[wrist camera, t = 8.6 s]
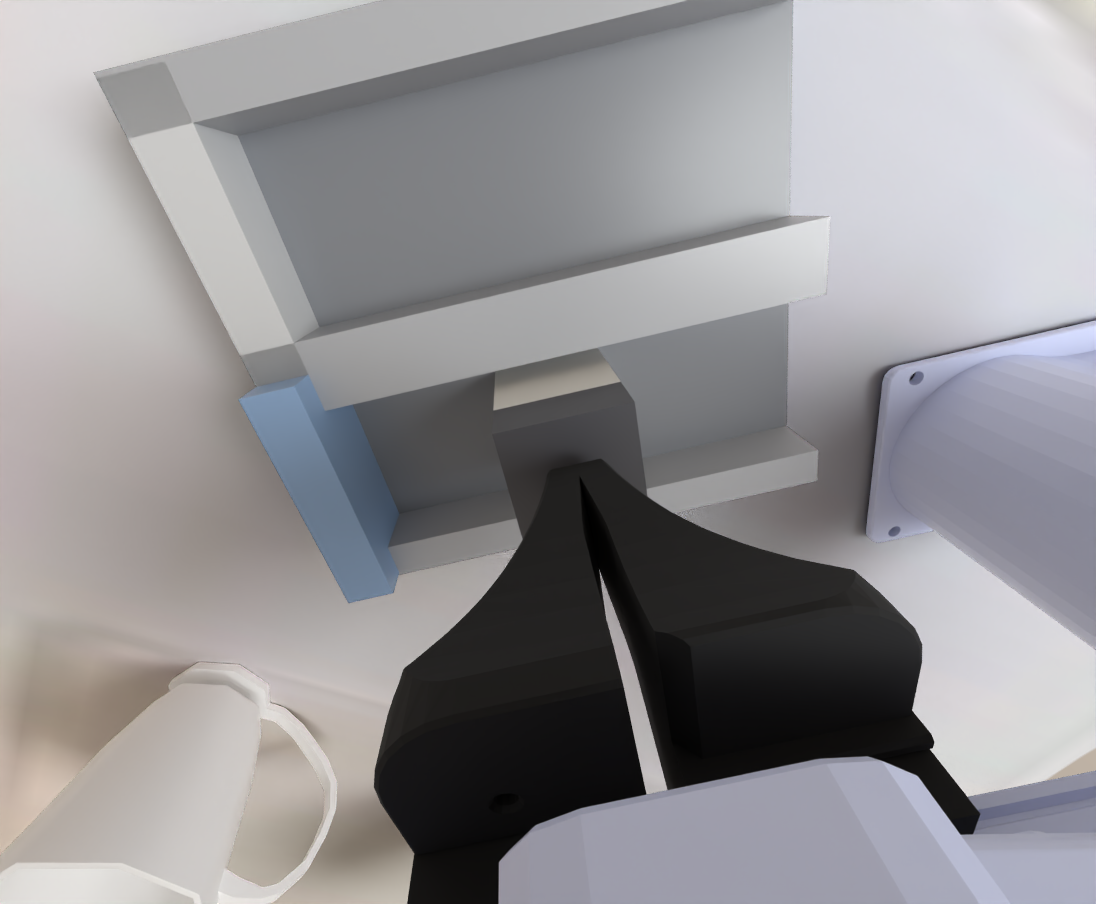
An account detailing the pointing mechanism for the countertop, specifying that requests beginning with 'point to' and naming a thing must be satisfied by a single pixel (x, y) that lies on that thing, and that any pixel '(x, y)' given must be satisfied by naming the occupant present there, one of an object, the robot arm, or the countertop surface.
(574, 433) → the grey rectangular block
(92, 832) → the cup
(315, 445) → the grey tray
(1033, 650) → the countertop surface
